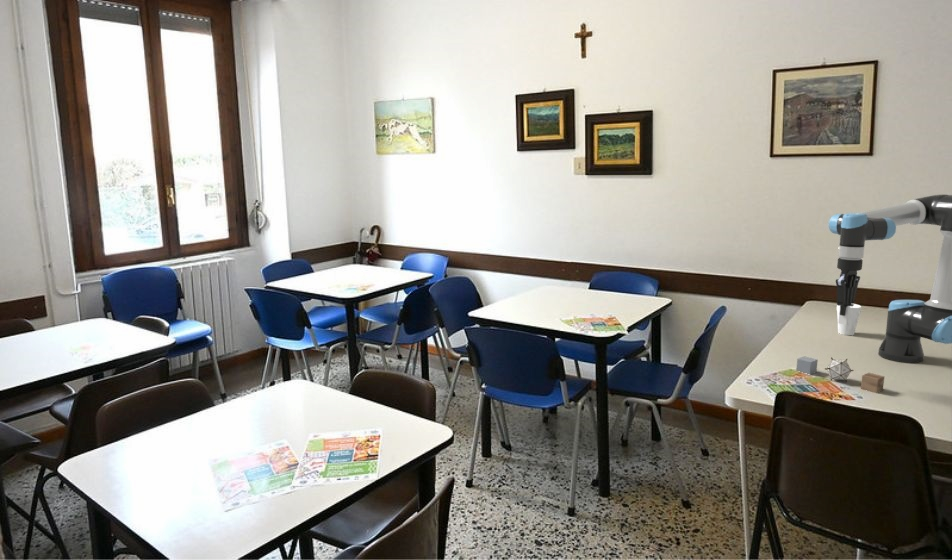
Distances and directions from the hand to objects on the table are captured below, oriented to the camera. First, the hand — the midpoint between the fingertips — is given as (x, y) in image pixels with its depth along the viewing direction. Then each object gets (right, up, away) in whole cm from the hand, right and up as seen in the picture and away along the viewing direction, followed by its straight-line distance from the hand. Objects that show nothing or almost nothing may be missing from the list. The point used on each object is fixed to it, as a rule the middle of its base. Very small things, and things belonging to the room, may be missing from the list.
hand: (843, 323), depth 232 cm
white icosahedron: (0, -21, +4) cm, 21 cm away
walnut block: (+7, -22, -5) cm, 24 cm away
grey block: (-6, -19, +13) cm, 24 cm away
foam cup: (+36, -9, +62) cm, 72 cm away
